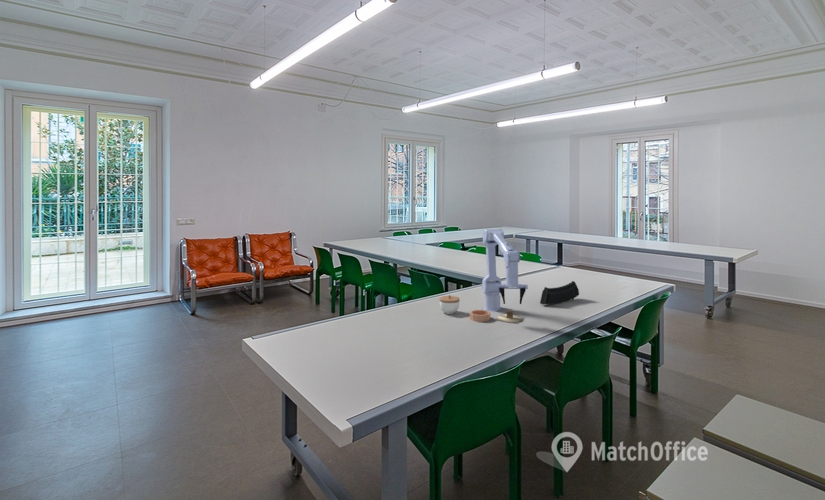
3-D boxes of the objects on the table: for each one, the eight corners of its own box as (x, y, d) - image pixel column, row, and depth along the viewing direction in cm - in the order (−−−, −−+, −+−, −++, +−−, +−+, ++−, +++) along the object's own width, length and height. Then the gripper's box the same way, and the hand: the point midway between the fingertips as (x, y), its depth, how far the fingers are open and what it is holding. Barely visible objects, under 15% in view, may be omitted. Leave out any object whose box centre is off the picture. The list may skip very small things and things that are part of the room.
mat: (502, 315, 223) (502, 314, 223) (525, 318, 217) (525, 317, 217) (493, 320, 213) (493, 320, 213) (517, 324, 207) (517, 324, 207)
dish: (475, 315, 223) (475, 308, 223) (493, 318, 218) (493, 311, 217) (466, 320, 215) (466, 313, 214) (485, 323, 209) (485, 316, 209)
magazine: (541, 291, 236) (575, 270, 250) (537, 290, 239) (571, 269, 253) (546, 318, 241) (580, 296, 255) (542, 317, 244) (575, 295, 258)
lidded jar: (463, 313, 228) (463, 295, 226) (447, 316, 222) (447, 298, 220) (450, 308, 236) (450, 292, 235) (435, 311, 230) (435, 294, 229)
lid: (502, 314, 223) (502, 306, 223) (525, 317, 217) (525, 309, 216) (493, 320, 213) (494, 311, 213) (517, 324, 207) (517, 315, 206)
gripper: (496, 276, 204) (497, 305, 205) (528, 276, 201) (528, 305, 202) (496, 275, 211) (497, 302, 212) (527, 275, 208) (527, 302, 209)
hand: (512, 303), depth 207 cm, fingers open, 7 cm apart
